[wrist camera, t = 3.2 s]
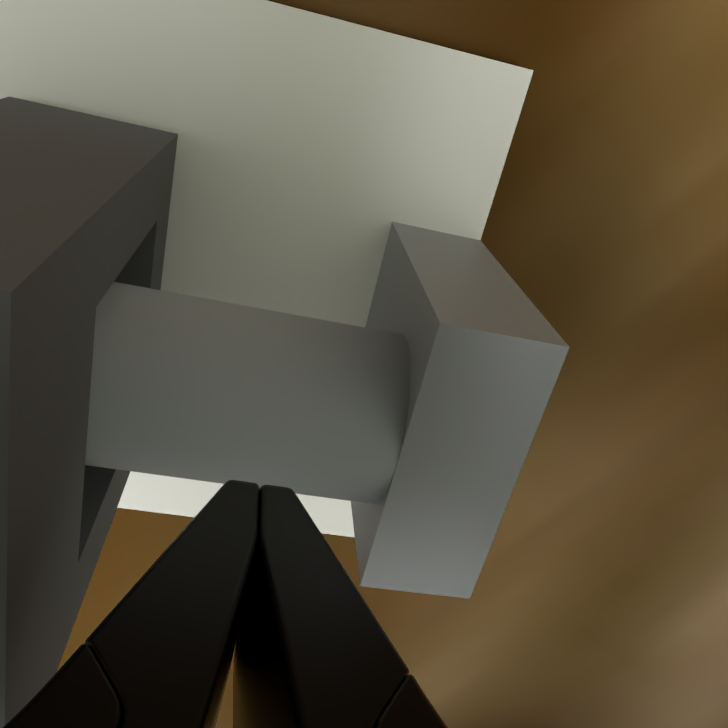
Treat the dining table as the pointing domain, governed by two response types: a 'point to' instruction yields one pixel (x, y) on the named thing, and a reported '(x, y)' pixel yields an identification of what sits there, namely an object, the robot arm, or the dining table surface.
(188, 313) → the pipe rig
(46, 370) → the collar
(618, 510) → the dining table surface
